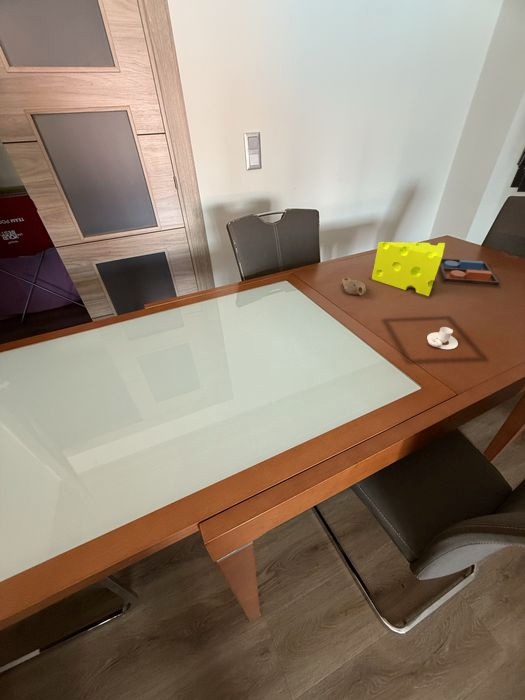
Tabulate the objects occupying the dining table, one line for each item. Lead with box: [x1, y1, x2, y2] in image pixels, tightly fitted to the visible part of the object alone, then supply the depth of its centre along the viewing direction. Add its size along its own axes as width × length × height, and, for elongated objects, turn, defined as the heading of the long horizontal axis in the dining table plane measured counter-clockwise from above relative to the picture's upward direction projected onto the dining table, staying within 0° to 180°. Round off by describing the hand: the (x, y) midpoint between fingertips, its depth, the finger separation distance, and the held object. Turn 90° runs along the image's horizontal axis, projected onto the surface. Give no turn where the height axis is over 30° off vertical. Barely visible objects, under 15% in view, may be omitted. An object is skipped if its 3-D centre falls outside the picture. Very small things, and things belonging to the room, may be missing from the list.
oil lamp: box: [341, 277, 367, 296], centre depth 110 cm, size 13×8×5 cm, turn 14°
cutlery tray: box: [438, 257, 500, 287], centre depth 118 cm, size 18×19×2 cm
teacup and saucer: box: [426, 326, 459, 350], centre depth 86 cm, size 9×8×4 cm
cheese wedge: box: [371, 241, 446, 297], centre depth 109 cm, size 19×20×15 cm
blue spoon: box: [444, 259, 484, 269], centre depth 121 cm, size 13×5×3 cm, turn 74°
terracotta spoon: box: [449, 270, 492, 280], centre depth 114 cm, size 13×5×3 cm, turn 74°
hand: (517, 189), depth 117 cm, fingers open, 7 cm apart
